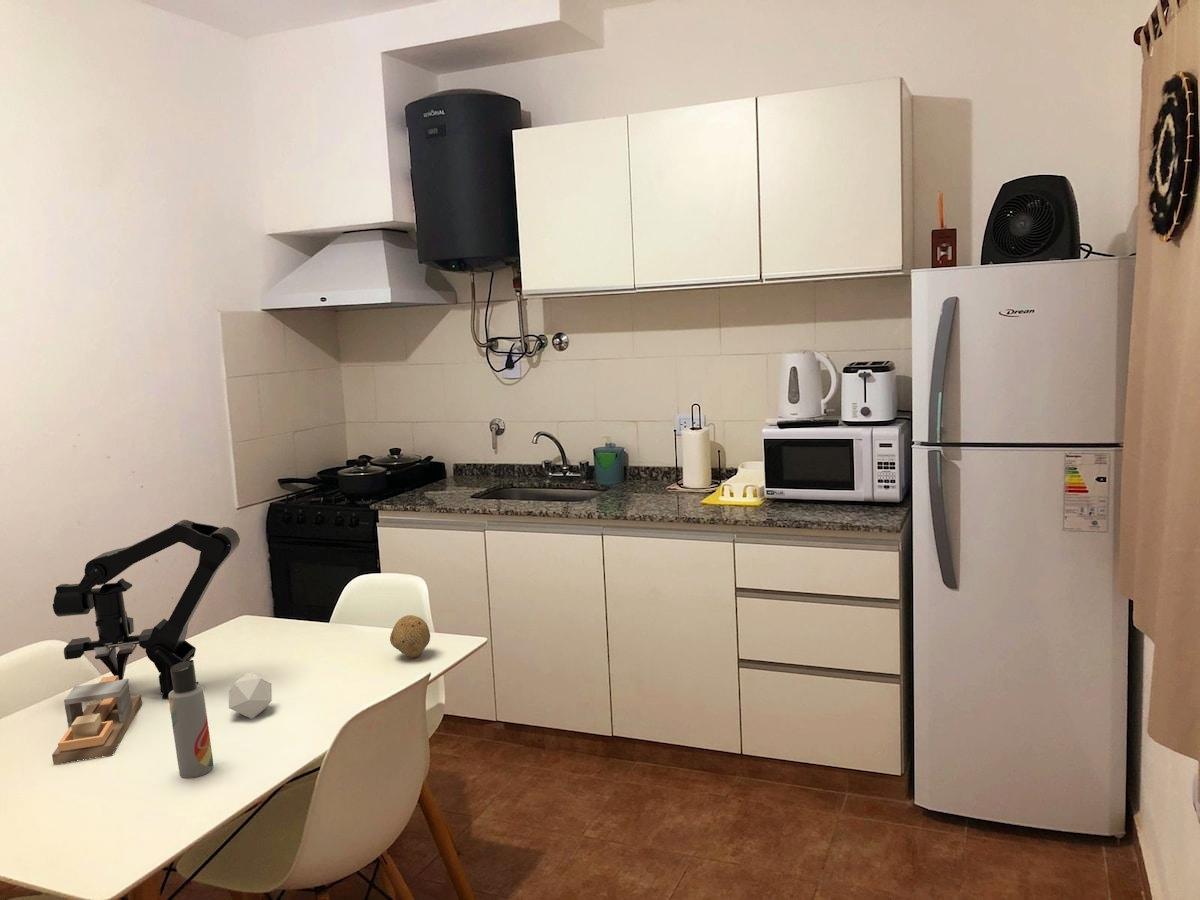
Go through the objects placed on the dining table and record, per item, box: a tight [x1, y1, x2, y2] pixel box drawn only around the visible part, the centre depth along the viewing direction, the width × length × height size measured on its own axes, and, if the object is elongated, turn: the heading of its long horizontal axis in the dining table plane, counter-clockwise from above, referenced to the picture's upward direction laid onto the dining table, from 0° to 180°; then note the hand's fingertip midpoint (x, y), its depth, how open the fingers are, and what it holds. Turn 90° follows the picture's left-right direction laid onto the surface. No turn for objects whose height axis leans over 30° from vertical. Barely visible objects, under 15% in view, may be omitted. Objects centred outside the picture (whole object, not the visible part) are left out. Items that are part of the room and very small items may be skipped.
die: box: [228, 672, 273, 720], centre depth 192 cm, size 8×9×10 cm
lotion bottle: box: [168, 661, 214, 779], centre depth 167 cm, size 6×6×20 cm
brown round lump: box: [389, 614, 431, 659], centre depth 217 cm, size 9×9×10 cm
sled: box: [57, 675, 119, 751], centre depth 187 cm, size 8×24×5 cm, turn 14°
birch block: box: [71, 713, 103, 740], centre depth 180 cm, size 4×4×4 cm
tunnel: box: [51, 678, 143, 765], centre depth 187 cm, size 10×25×8 cm, turn 14°
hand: (120, 680), depth 205 cm, fingers closed
